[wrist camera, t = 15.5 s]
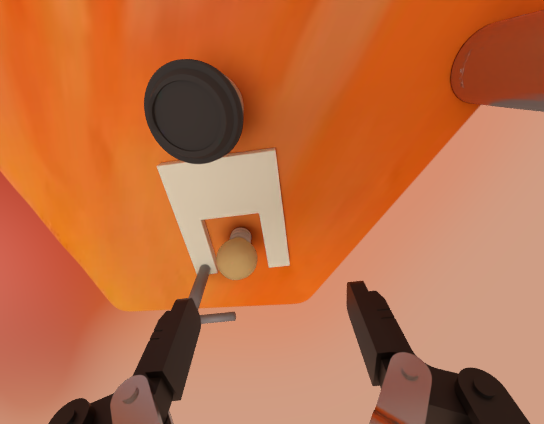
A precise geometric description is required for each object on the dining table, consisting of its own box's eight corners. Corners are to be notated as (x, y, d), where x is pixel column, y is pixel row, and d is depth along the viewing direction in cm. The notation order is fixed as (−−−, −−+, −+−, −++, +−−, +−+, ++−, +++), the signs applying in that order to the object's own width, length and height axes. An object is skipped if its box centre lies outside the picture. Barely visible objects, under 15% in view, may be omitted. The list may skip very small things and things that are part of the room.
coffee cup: (254, 72, 32) (244, 66, 19) (248, 141, 36) (236, 176, 23) (185, 61, 31) (124, 47, 18) (187, 132, 36) (139, 163, 22)
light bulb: (234, 252, 46) (226, 293, 37) (217, 227, 43) (204, 264, 35) (264, 241, 45) (263, 280, 36) (248, 214, 42) (243, 249, 33)
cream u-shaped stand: (275, 147, 37) (278, 179, 25) (289, 259, 47) (295, 320, 35) (160, 163, 38) (110, 201, 26) (199, 269, 48) (176, 332, 36)
